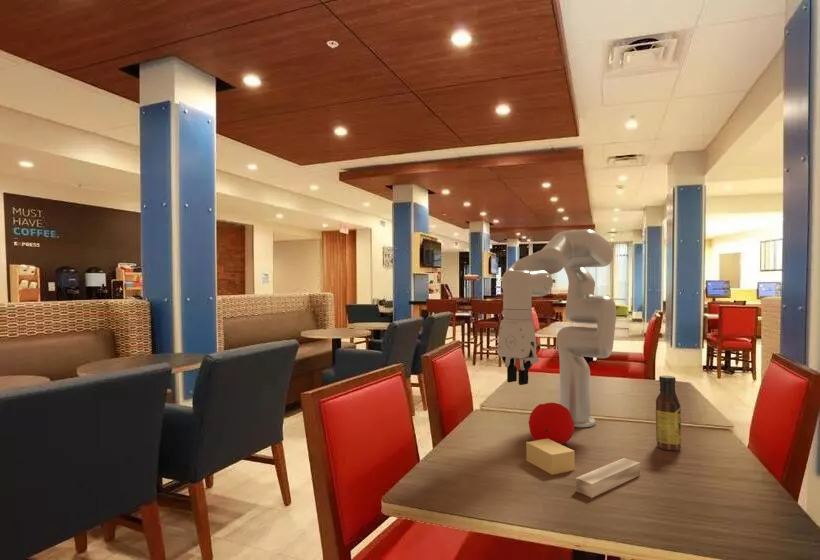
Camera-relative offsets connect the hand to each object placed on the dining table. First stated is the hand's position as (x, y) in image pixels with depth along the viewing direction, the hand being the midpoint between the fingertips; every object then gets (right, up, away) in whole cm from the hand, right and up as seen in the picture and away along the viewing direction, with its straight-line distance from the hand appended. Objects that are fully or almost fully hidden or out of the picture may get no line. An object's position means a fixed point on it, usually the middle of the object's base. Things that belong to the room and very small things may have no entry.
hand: (517, 382), depth 129 cm
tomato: (+12, -20, +8) cm, 24 cm away
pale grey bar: (+17, -19, -19) cm, 32 cm away
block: (+6, -19, -8) cm, 22 cm away
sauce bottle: (+43, -19, +4) cm, 47 cm away
